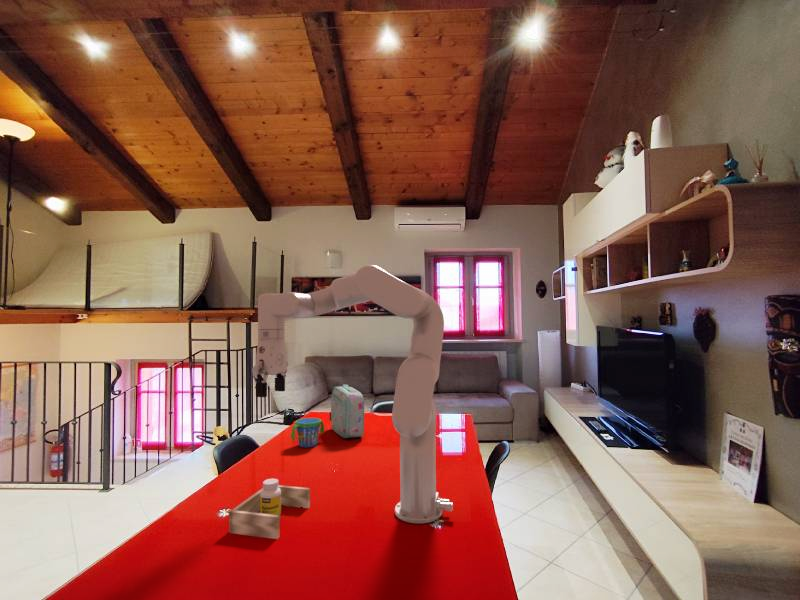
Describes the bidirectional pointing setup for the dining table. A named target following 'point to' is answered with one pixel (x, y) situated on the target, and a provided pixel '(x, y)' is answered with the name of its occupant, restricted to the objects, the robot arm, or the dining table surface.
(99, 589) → the dining table surface
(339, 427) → the lunch box
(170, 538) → the dining table surface
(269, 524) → the open-sided box
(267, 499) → the supplement bottle
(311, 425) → the snack cup
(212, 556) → the dining table surface
